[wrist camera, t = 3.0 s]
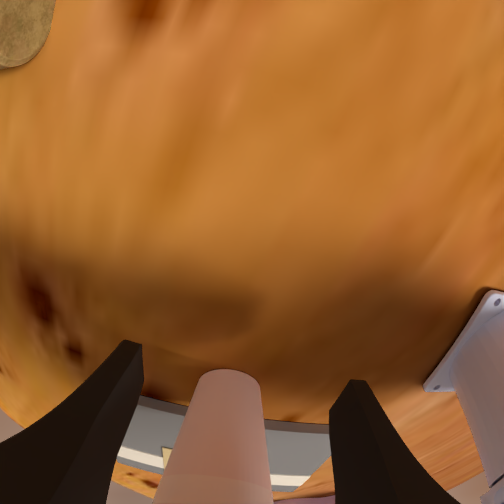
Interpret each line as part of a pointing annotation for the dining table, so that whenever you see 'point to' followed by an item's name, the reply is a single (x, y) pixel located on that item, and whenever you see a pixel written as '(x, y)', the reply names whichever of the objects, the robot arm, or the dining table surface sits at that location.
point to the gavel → (23, 29)
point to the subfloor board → (277, 439)
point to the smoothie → (220, 446)
